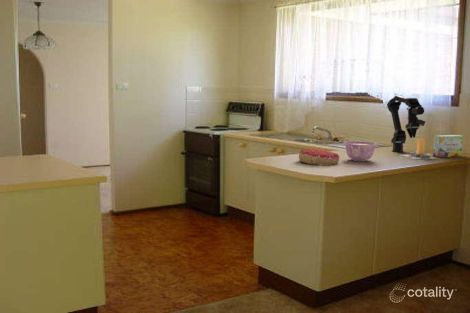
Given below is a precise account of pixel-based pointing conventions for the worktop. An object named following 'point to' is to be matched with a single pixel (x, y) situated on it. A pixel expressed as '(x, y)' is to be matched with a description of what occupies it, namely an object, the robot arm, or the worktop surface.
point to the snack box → (447, 145)
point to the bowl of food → (360, 150)
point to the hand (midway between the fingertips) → (412, 137)
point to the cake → (318, 157)
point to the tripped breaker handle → (420, 146)
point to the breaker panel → (419, 156)
